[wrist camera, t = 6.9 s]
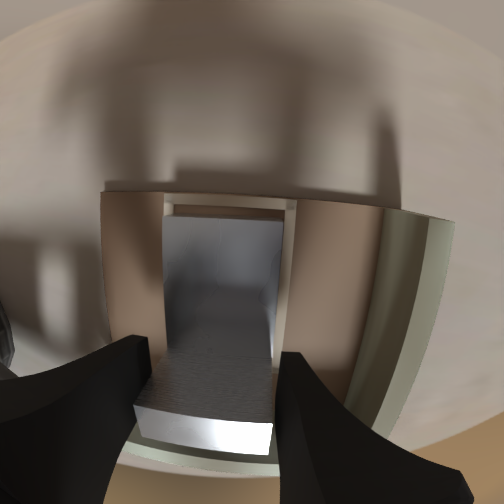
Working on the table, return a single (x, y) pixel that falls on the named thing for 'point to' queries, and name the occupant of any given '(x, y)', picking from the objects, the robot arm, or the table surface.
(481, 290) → the table surface
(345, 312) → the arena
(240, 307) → the angle bracket
